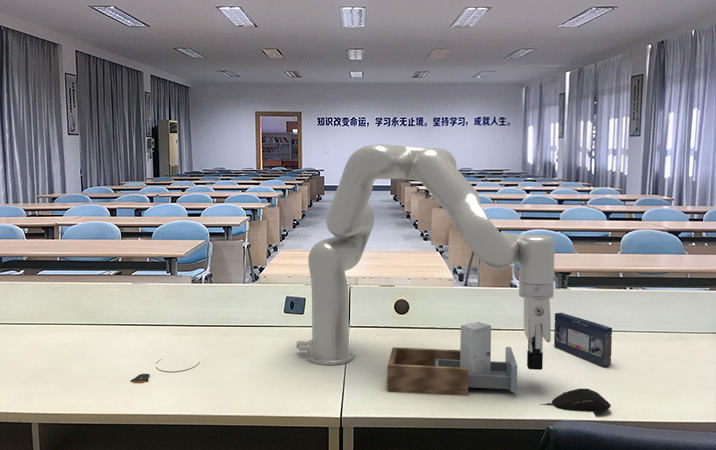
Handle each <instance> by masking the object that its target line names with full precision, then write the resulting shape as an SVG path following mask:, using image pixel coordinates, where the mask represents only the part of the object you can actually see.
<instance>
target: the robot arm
mask: <svg viewBox="0 0 716 450" xmlns="http://www.w3.org/2000/svg"><path fill="white" fill-rule="evenodd" d="M397 179H398V180H399V179H401V180H412V181H418V182H419V181H420V183H421V184H422V186H424V188H425V189H426V190H427V191H428V192H429V194H431V196H432V197H433V198H434V199H435V200H436V202H437V203H438V204H439V206H441V207H442V209H444V211H445V212H446V213H447V215H448V216H449V218H450V220H451V222H452V224H453V225H454V227H455V229H456V231H457V232H458V234H459V235H460V237H461V238H462V240H463V241H464V243H465V244H466V245H467V246H468V248H470V250H471V251H472V252H473V253H474V254H475V255H476V257H477V258H478V259H479V260H480V262H482V263H483V264H484V265H485V266H486V267H488V268H490V269H492V270H497V271H498V270H503V269H507V268H508V267H510V266H511V265H513V264H519V270H518V271H519V276H518V277H519V278H518V279H519V281H518V283H519V284H518V295H519V297H521V298H523V330H524V331H523V332H524V335H525V337H526V339H527V350H526V351H527V354H526V355H527V356H526V366H527V369H528V370H537V371H542V370H543V365H544V364H543V363H544V361H543V358H544V357H543V356H544V355H543V354H544V352H543V346H544V340H545V342H547V343H548V344H549V343H550V342H551V341H552V330H551V325H552V324H551V318H552V317H551V303H550V299H553V298H554V293H555V292H554V291H555V290H554V286H555V284H554V283H555V282H554V280H555V248H556V247H555V246H556V245H555V241H554V238H553V237H552V236H550V235H545V234H528V235H527V234H520V233H513V232H504V231H503V232H500V231H499V229H498V228H497V227H496V226H495V225H494V223H493V222H492V221H491V219H490V218H489V217H488V216H487V214H486V212H485V210H484V208H483V206H482V204H481V198H480V196H479V192H478V191H477V189H475V187H474V186H473V185H472V184H471V183H470V181H468V179H467V178H466V177H465V176H464V175H463V174H462V173H461V172H460V170H459V168H457V161H456V158H455V156H454V155H453V154H452V153H451V152H450V151H448V150H447V149H444V148H439V147H437V148H436V147H428V148H426V147H418V146H407V145H406V146H405V145H393V144H387V143H386V144H384V143H383V144H382V143H381V144H380V143H379V144H377V143H376V144H369V145H365V146H362V147H360V148H358V149H357V150H355V151H354V152H353V153H352V154H351V155H350V156H349V158H348V159H347V162H346V163H345V166H344V168H343V172H342V174H341V177H340V180H339V183H338V185H337V188H336V190H335V193H334V196H333V199H332V201H331V204H330V207H329V209H328V212H327V215H326V222H325V224H326V228H327V230H328V232H329V233H331V235H333V237H329V238H324V239H321V240H320V241H318V242H316V243H315V244H314V245H313V246H312V247H311V249H310V252H309V253H308V259H307V261H308V269H309V270H308V271H309V275H310V282H311V333H312V334H311V340H308V341H303V340H297V341H296V345H295V346H296V348H297V349H298V350H299V351H307V353H306V359H307V361H308V362H310V363H312V364H316V365H322V366H337V365H343V364H348V363H349V362H352V361H353V360H354V359H355V352H354V351H353V350H352V349H350V348H349V284H348V281H347V278H346V277H347V276H346V272H347V271H349V270H351V269H353V268H354V267H356V266H357V265H358V264H359V262H360V260H361V258H362V256H363V253H364V251H365V248H366V246H367V243H368V241H369V238H370V236H371V233H372V230H373V228H374V224H375V212H374V209H373V206H372V205H371V204H370V203H369V200H370V198H371V196H372V192H373V188H374V187H373V186H374V182H375V181H376V180H397Z"/></svg>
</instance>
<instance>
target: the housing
mask: <svg viewBox="0 0 716 450" xmlns="http://www.w3.org/2000/svg"><path fill="white" fill-rule="evenodd" d="M435 359H451V360H460V349H446V348H445V349H444V348H443V349H442V348H441V349H439V348H438V349H437V348H436V349H435V348H418V347H417V348H416V347H392V349H391V352H390V355H389V359H388V363H387V371H386V372H387V375H386V376H387V377H386V378H387V382H386V384H387V389H386V390H387V391H386V392H394V393H414V394H415V393H416V394H434V395H450V396H466V397H467V396H468V395H469V387H468V368H466V367H444V366H435Z"/></svg>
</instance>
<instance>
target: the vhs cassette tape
mask: <svg viewBox="0 0 716 450" xmlns="http://www.w3.org/2000/svg"><path fill="white" fill-rule="evenodd" d="M553 331H554V336H553V341H554V342H553V347H554V348H555V349H557V350H560V351H562V352H565V353H567V354H570V355H572V356H575V357H576V358H579V359H582V360H585V361H587V362H590V363H592V364H596V365H598V366H601V367H603V368H604V367H609V366H611V365H612V341H613V336H612V335H613V328H612V327H609V326H606V325H604V324H600V323H597V322H594V321H591V320H588V319H584V318H581V317H579V316H578V317H577V316H574V315H571V314H567V313H564V312H555V313H554V330H553Z"/></svg>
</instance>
